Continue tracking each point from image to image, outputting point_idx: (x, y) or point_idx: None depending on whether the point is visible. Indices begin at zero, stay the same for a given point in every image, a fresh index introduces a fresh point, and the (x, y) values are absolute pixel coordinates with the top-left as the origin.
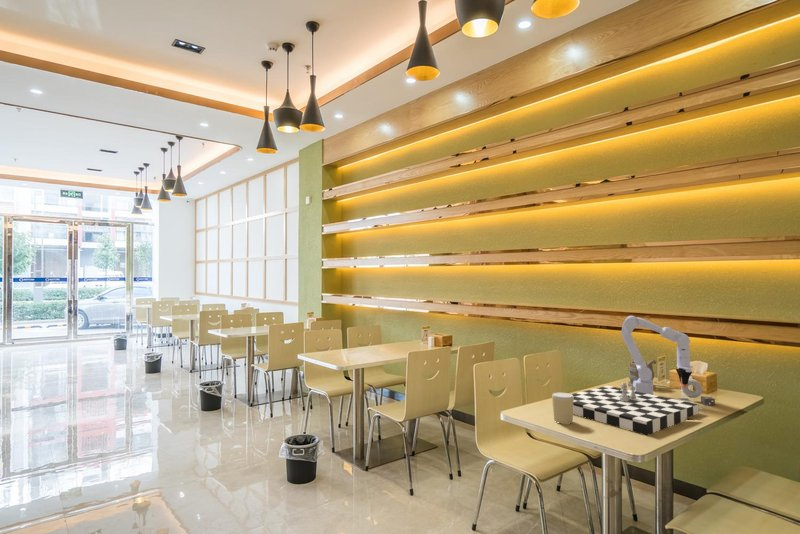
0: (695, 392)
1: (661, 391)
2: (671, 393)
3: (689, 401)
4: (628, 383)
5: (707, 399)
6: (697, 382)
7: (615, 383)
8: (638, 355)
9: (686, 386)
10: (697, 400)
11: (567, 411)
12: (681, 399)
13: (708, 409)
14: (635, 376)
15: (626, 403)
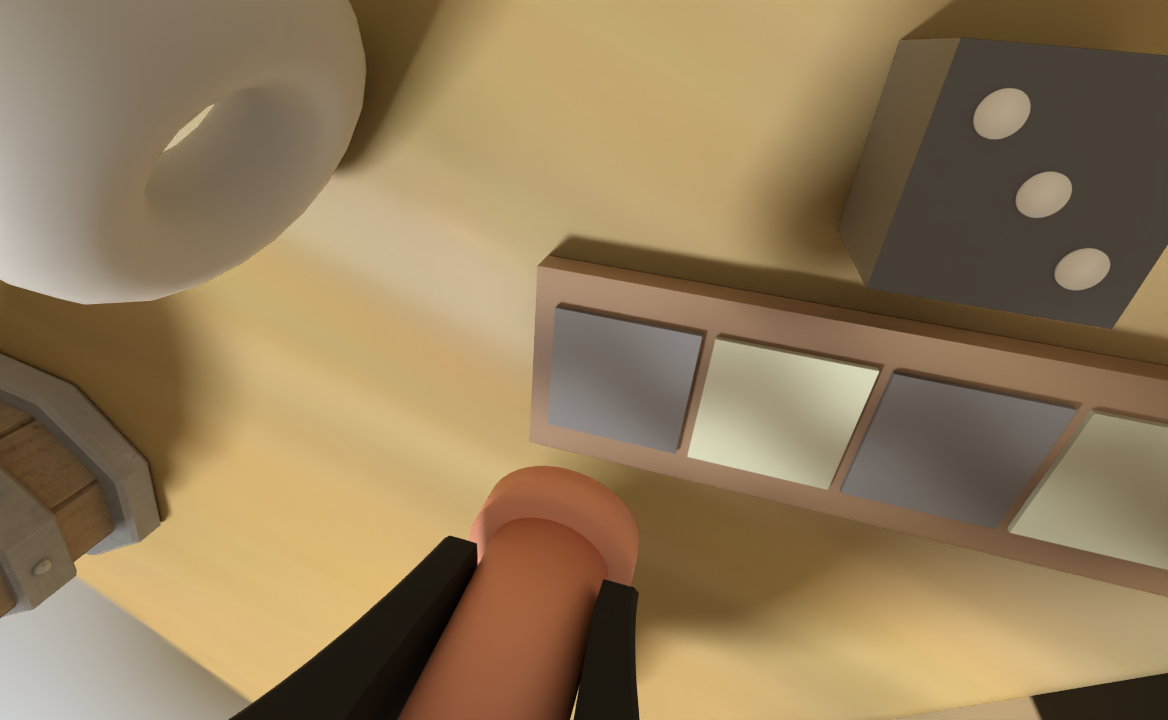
0: (326, 95)
1: (169, 362)
2: (214, 298)
3: (748, 382)
4: (93, 554)
5: (1142, 256)
6: (86, 43)
7: (79, 569)
8: None
9: (632, 553)
10: (515, 118)
11: None
12: (630, 424)
13: (1164, 252)
14: (21, 609)
15: None
